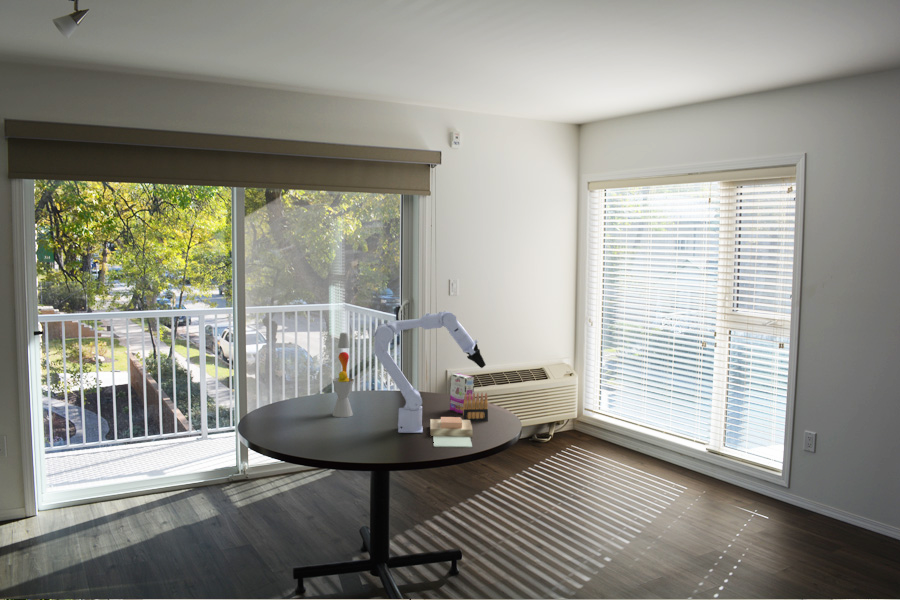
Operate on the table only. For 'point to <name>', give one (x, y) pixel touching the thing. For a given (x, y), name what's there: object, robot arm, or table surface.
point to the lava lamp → (343, 382)
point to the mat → (451, 441)
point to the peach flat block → (451, 422)
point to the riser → (450, 429)
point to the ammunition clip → (473, 412)
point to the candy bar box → (460, 391)
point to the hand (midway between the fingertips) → (482, 364)
